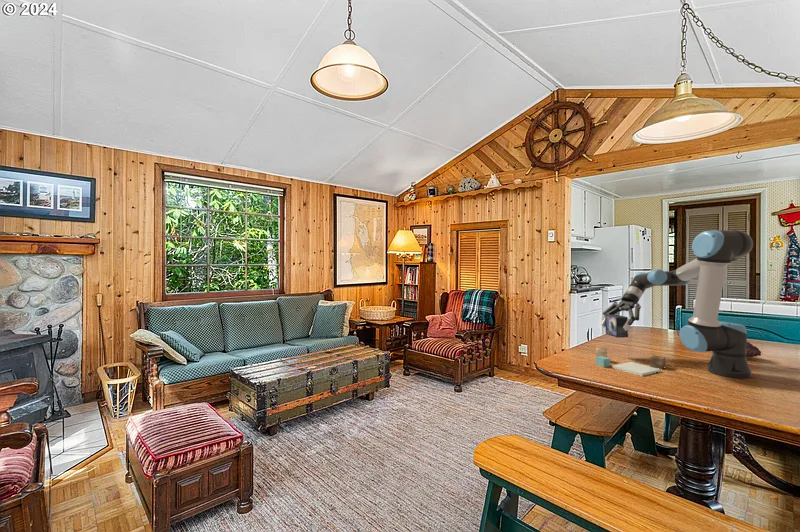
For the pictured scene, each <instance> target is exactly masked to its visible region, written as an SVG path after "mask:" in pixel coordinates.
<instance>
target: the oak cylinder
mask: <svg viewBox="0 0 800 532" xmlns="http://www.w3.org/2000/svg"><path fill="white" fill-rule="evenodd" d="M597 356H604V357H607V358H608V349H607V348H605V347H602V348H601V347H597V348H595V358H596V357H597Z"/></svg>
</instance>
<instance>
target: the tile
mask: <svg viewBox="0 0 800 532" xmlns="http://www.w3.org/2000/svg"><path fill="white" fill-rule="evenodd" d="M611 367H612V369H615V370H618V371H621V370H622V371H621V372H626V373H629V374H632V373H633V375H635V376H639V375H640V376H639V377H644V376H649V375H654V374H657V373H656V372H658V373H661V372H662V370H661V369H658V368H654V367H650V365H646V364H640V363H638V362H633V361H630V362H629V361H628V362H622V363H619V364H614V365H612V366H611ZM653 373H654V374H653Z"/></svg>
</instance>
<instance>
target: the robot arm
mask: <svg viewBox="0 0 800 532" xmlns="http://www.w3.org/2000/svg"><path fill="white" fill-rule="evenodd" d="M753 241H754V240H753V238H752V237H751V235H749V234H748V233H747V232H744V231H741V230H732V229H731V230H728V229H727V230H722V229H721V230H717V229H711V230H705V231H702V232H700V233H699V234H697V235H696V236H695V238H694V239H693V240H692V244H691V251H692V252H693V254H694V255H695V256H696V258H695V259H693V260H691V261H689V262H687V263H685V264H683V265H681V266H680V267H677V268H676V269H674V270H672V271H671V270H665V271H664V270H662V269H661V268H659V269H653V270H651V271H649V272H647V273H646V272H638V273H636V274H635V276H633V279H632V281H631V283H630V284H629V285H628V287H627V289H626V290H625V292H624V293H623V295H622V297H621V300H620V301H619V302H617V301H616V300H615V301H613V303H612V304H610V306H609V307H608V308H606V309H605V310H604V311H603V312H602V315H603V318H602V321H601V323H600V325H601V327H602V328H606V327H605V315H617V314H618V313H619V312H622V311H625V312H628V314H629V317H628V319H627V321H626V323H625V325H624V326H623V328H624V330H625V331H627V330H628V331H629V329H630V326H632V325H633V323H634V322H635V321H638V322H639V320H640V311H641V308H642V306H641V305H640V303H639V301H640V299H641V297H642V296H643V295H644V293H645V291H646V290H647V289H651V288H653V287H658V286H659V287H660V286H663V287H664V286H665V287H666V286H676V287H677V286H678V287H679V286H686V285H687V284H689V282H690V280H692V279H694V278H696V277H698V279H697V287H696V293H695V300H694V306H693V307H694V308H693V314H692V316H691V317H690V318H688V319H687V324H686V325H683V326H682V327H681V328H680V329H679V339H680V341H681V343H682V345H683V346H684V347H685V348H686V349H688V350H690V351H691V352H696V353H697V352H699V353H705V352H712V354H711V357H710V359H709V362H708V363H707V367H706V368H707V369H706V370H707V372H709V373H712V374H715V375H718V376H722V377H728V378H734V379H735V378H737V379H749V378H751V377H752V370H751V366H750V364H749V362H748V359H747V357H746V347H747V342H748V339H747V338H748V333H747V327H746V326H745V325H743V324H740V323H735V322H728V321H720V320H718V317H719V312H720V306H721V299H722V294H723V289H724V288H723V287H724V282H725V281H724V280H725V274H726V268H727V266H729V265H731V264H732V262H736V261H738V260H740V259H742V258H744V257H746V256H747V255H748V254H750V252H752V249H753V248H754V242H753ZM633 309H634V311H633Z"/></svg>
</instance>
